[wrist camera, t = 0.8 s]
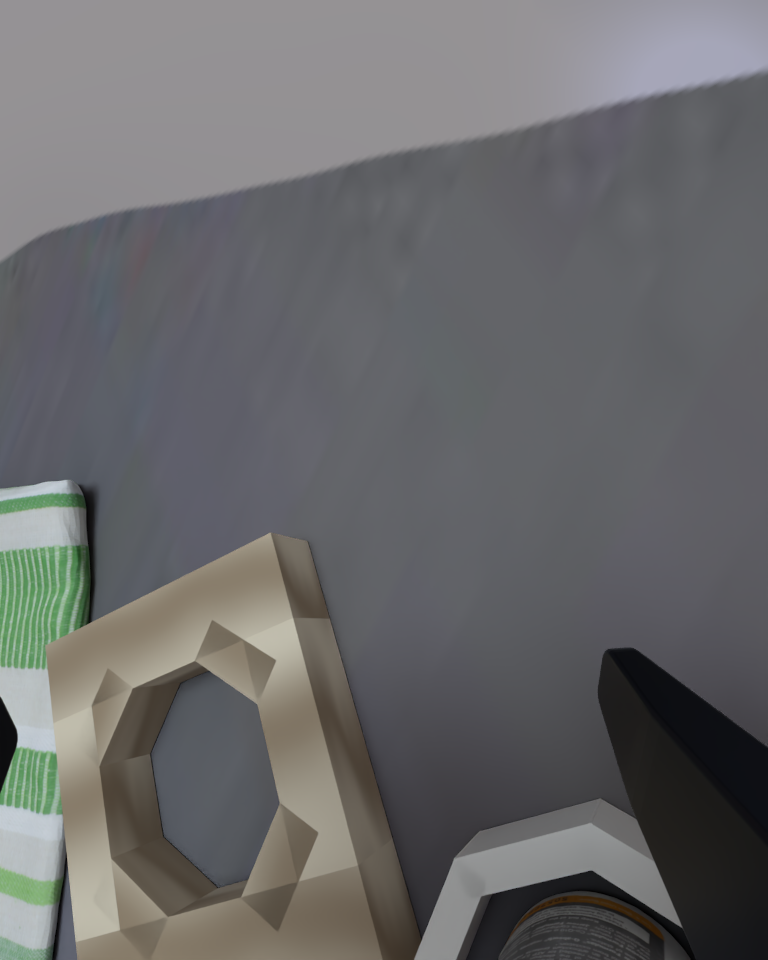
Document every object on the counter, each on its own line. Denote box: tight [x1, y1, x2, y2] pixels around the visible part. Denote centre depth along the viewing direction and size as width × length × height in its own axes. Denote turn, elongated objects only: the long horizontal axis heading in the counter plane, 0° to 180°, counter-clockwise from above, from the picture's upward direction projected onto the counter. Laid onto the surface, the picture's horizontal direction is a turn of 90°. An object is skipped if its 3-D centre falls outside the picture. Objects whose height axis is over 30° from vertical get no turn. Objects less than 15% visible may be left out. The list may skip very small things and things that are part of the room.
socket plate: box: [45, 533, 422, 960], centre depth 22 cm, size 14×12×2 cm
